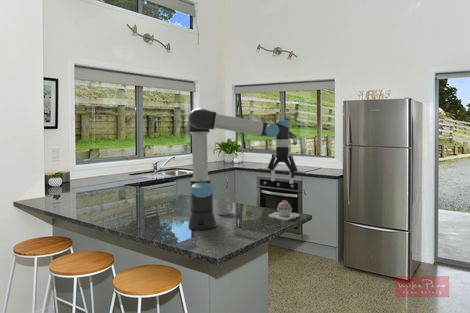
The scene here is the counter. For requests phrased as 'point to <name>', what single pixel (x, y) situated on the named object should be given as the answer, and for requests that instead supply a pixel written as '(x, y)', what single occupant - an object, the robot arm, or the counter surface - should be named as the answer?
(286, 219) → the pale green scalloped tray
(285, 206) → the cupcake
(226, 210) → the cup
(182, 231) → the counter surface
